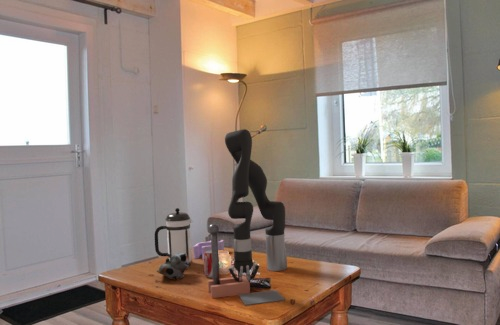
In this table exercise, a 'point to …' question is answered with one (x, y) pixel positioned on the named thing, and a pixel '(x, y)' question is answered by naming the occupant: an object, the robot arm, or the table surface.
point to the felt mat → (261, 297)
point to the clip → (205, 248)
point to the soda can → (208, 264)
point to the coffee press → (176, 235)
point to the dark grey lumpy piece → (175, 266)
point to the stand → (215, 253)
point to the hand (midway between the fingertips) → (244, 289)
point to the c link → (229, 287)
